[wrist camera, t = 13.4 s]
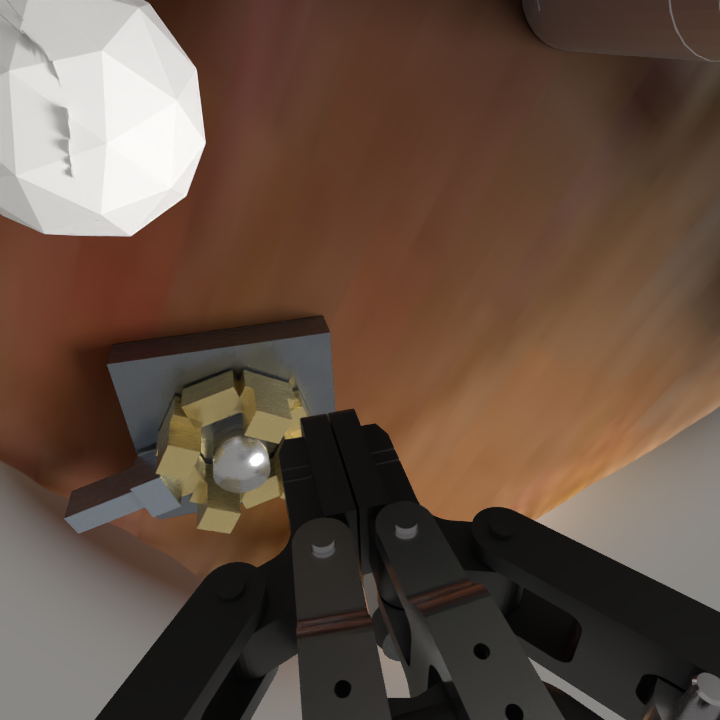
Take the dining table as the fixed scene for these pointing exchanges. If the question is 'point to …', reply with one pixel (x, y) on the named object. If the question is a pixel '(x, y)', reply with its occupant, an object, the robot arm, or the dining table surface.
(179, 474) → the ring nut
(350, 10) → the dining table surface
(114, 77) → the geodesic sphere
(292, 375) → the housing
